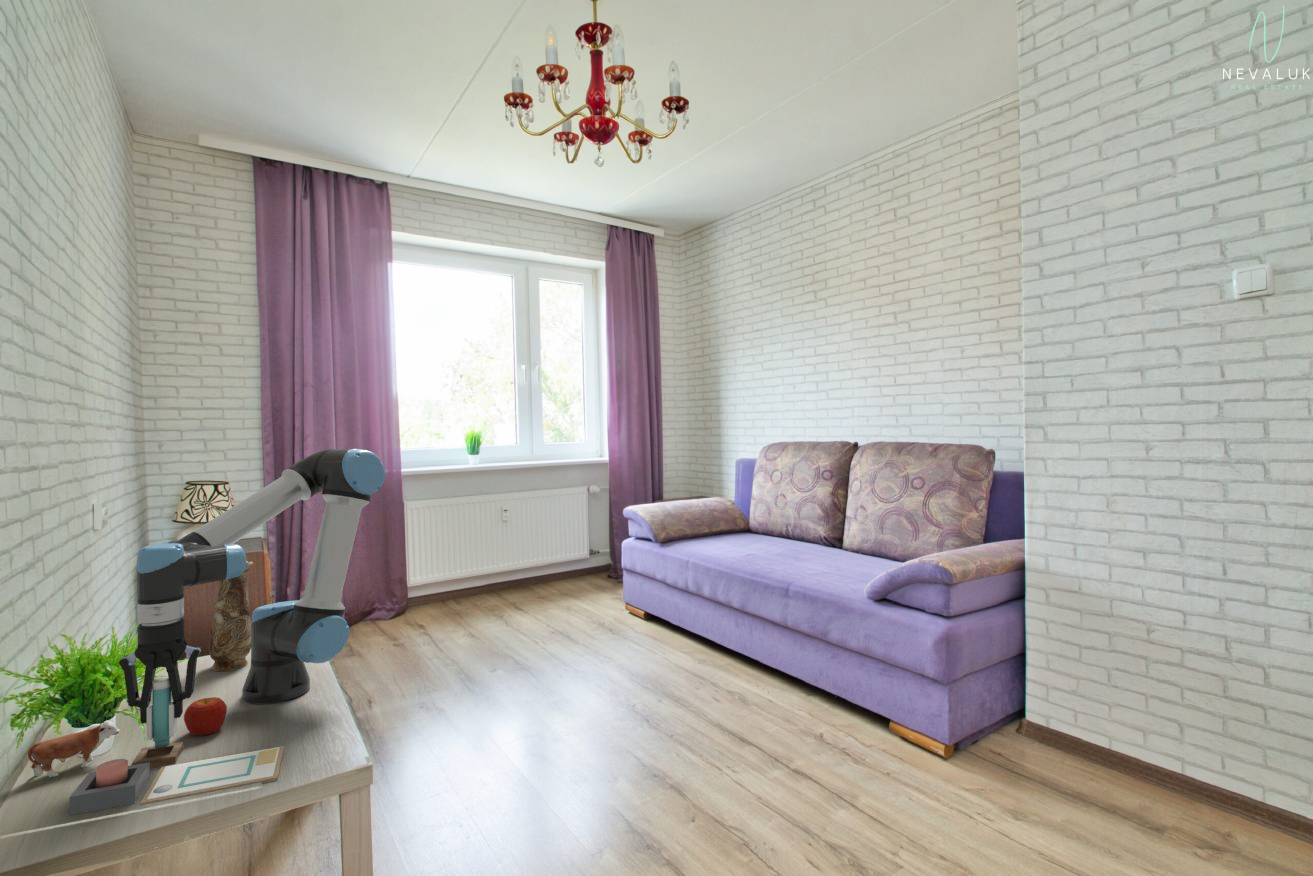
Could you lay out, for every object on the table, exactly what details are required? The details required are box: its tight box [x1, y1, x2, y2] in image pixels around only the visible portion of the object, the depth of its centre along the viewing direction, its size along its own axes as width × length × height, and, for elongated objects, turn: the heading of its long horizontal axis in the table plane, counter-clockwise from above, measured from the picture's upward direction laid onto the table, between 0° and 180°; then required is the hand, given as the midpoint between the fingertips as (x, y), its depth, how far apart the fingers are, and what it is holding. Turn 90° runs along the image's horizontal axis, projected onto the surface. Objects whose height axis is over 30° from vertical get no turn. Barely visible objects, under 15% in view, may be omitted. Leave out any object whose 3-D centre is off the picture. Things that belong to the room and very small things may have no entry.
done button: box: [95, 758, 129, 788], centre depth 116 cm, size 4×4×3 cm
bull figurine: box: [27, 719, 121, 778], centre depth 126 cm, size 4×13×8 cm, turn 138°
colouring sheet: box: [140, 745, 285, 805], centre depth 124 cm, size 14×21×1 cm, turn 116°
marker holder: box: [130, 741, 184, 769], centre depth 129 cm, size 7×7×2 cm
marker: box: [151, 676, 172, 748], centre depth 130 cm, size 3×3×14 cm
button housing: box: [69, 762, 151, 816], centre depth 116 cm, size 9×9×4 cm
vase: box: [208, 559, 254, 672], centre depth 184 cm, size 10×11×30 cm
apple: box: [183, 696, 228, 737], centre depth 142 cm, size 8×8×8 cm
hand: (162, 735), depth 130 cm, fingers closed on marker, 3 cm apart
